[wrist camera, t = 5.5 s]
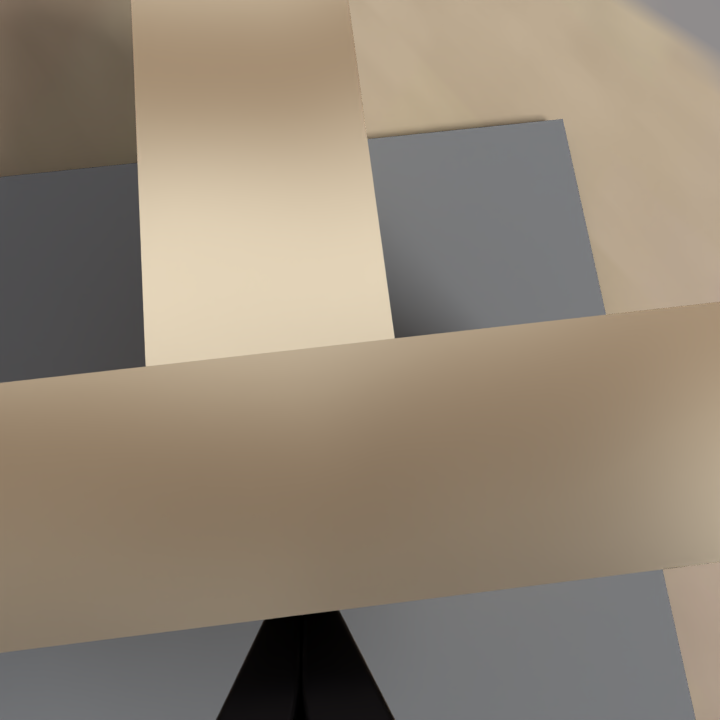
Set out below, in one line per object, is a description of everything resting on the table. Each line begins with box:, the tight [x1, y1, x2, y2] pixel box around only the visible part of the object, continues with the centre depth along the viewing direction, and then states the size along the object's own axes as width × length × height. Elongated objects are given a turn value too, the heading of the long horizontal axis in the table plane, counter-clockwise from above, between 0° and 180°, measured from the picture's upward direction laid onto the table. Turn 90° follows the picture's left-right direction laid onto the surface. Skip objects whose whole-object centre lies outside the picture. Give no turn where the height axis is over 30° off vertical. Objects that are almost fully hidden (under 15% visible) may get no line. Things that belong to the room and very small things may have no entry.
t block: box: [0, 0, 720, 653], centre depth 13 cm, size 11×12×8 cm
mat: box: [0, 119, 696, 720], centre depth 15 cm, size 26×17×1 cm, turn 7°
